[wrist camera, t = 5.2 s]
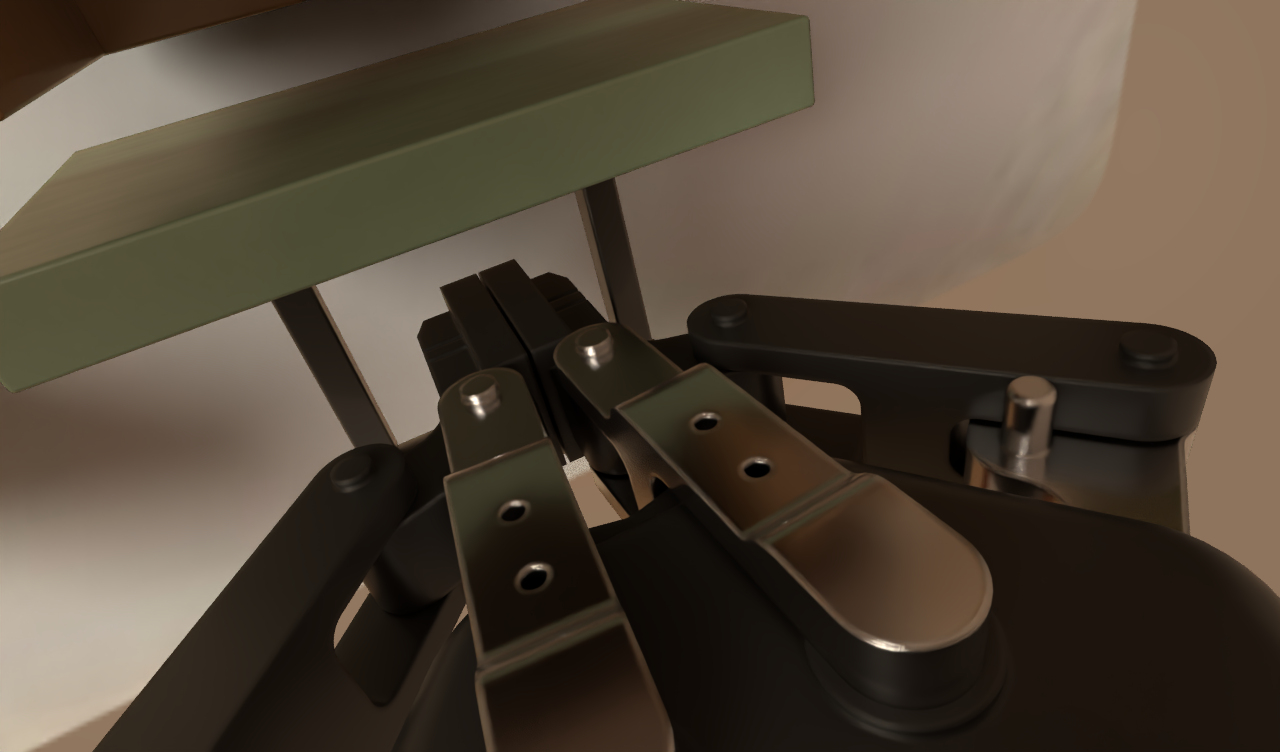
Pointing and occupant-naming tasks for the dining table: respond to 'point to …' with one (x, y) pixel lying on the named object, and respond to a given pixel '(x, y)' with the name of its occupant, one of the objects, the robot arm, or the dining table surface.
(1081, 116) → the dining table surface
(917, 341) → the robot arm
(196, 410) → the dining table surface
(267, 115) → the drawer
